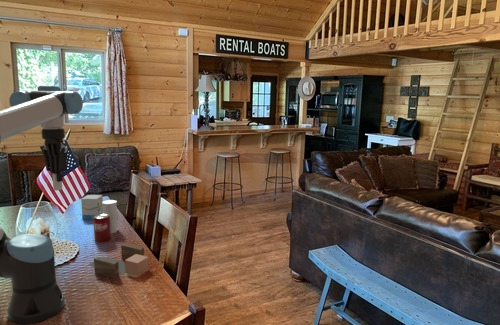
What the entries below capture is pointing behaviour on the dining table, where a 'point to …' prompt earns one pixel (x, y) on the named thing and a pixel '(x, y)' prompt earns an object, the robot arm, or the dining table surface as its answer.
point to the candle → (111, 213)
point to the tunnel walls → (112, 267)
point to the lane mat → (121, 267)
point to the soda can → (102, 228)
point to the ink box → (91, 206)
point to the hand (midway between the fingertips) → (58, 189)
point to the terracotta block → (136, 264)
